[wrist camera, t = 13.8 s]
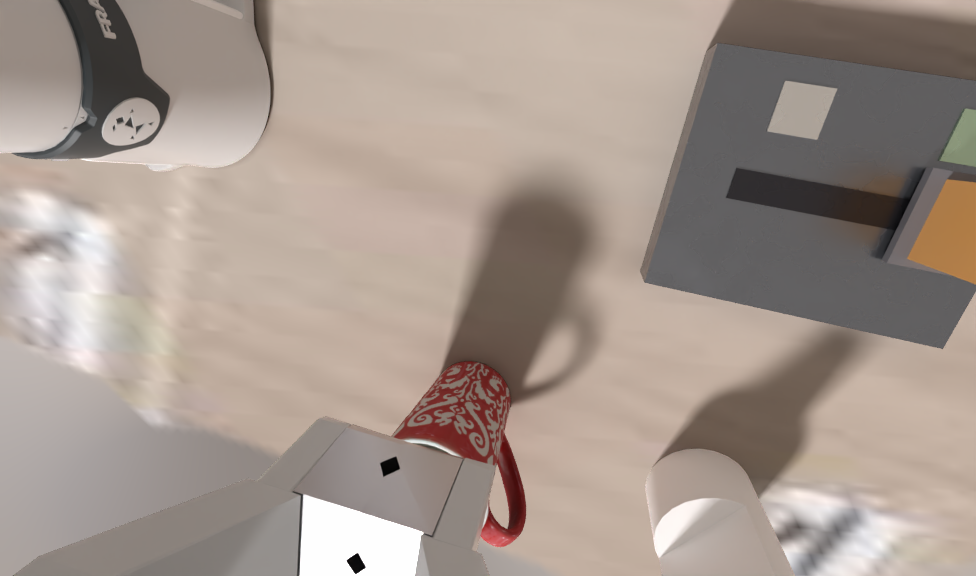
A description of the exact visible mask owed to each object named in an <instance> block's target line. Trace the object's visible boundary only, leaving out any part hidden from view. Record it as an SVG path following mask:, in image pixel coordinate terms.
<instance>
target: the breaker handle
mask: <svg viewBox="0 0 976 576" xmlns="http://www.w3.org/2000/svg"><path fill="white" fill-rule="evenodd" d="M881 261H884V262H886V263H890V264H895V265H900V266H905V267H910V268H915V269H920V270H925V271H929V272H934V273H939V274H944V275H949V276H954V277H957V278H960V279H962V280H965V281H968V282H970V283H973V284H976V175H973V174H967V173H961V172H955V171H949V170H944V169H938V168H930V167H926V170H925V172H924V174H923V176H922V178H921V180H920V182H919V184H918V186H917V188H916V190H915V192H914V194H913V196H912V198H911V200H910V203H909V205H908V207H907V209H906V211H905V213H904V215H903V217H902V219H901V221H900V223H899V225H898V227H897V229H896V231H895V234H894V236H893V238H892V240H891V242H890V244H889V246H888V248H887V250H886V252H885V254H884V256H883V258H882V260H881Z"/></svg>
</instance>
